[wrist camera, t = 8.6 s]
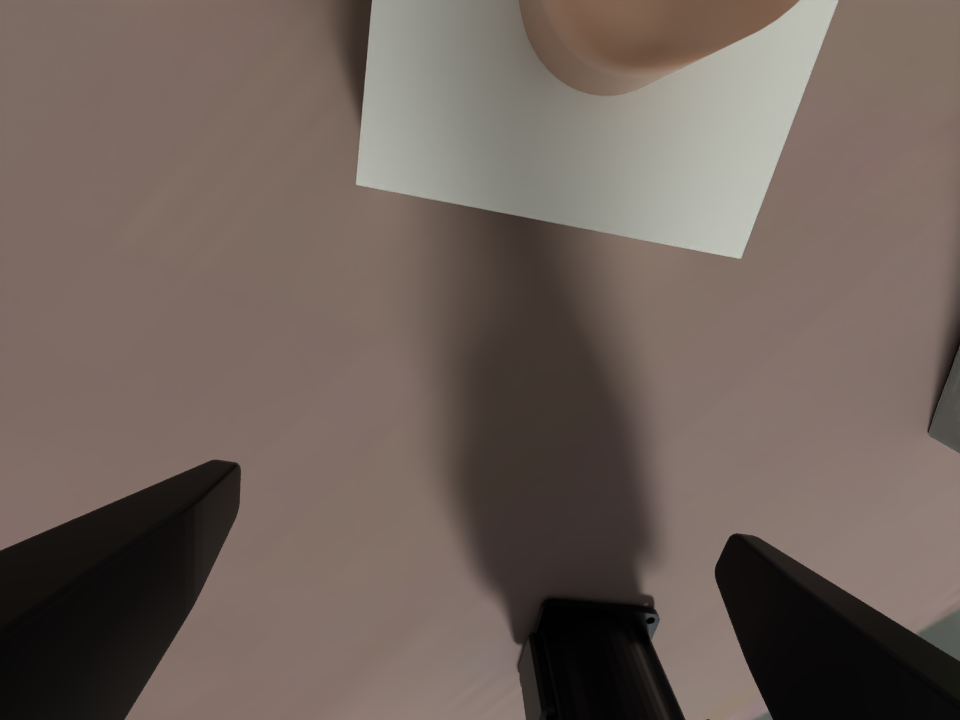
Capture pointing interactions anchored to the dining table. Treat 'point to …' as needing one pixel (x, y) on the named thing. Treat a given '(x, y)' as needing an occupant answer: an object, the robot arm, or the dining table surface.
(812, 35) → the white flat block
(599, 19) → the peach rounded cylinder
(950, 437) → the skincare box
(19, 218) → the dining table surface
